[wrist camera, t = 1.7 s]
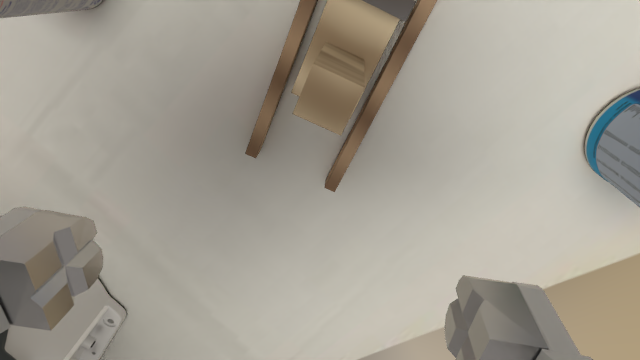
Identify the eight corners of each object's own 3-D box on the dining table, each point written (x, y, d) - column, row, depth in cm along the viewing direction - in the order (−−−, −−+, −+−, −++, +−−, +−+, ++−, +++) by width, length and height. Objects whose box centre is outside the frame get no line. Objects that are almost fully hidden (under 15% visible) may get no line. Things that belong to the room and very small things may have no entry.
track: (335, 183, 34) (334, 192, 33) (249, 146, 33) (245, 153, 32) (516, -157, 22) (525, -166, 20) (387, -231, 21) (388, -245, 20)
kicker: (350, 111, 30) (345, 163, 22) (295, 86, 30) (267, 129, 21) (406, -2, 26) (428, 6, 17) (342, -34, 25) (332, -43, 17)
